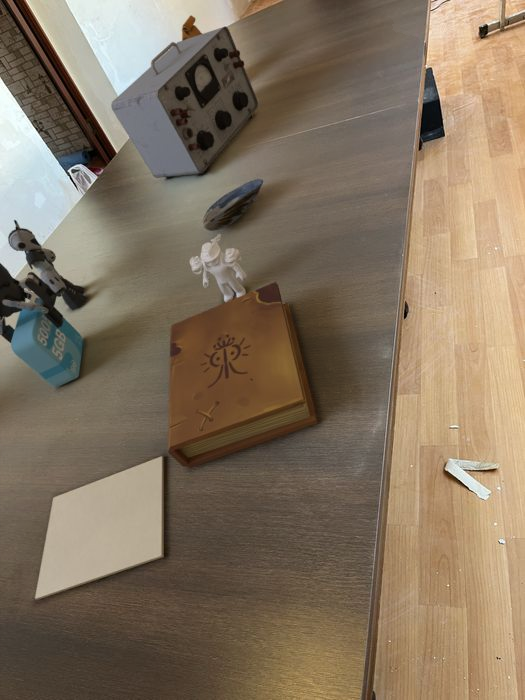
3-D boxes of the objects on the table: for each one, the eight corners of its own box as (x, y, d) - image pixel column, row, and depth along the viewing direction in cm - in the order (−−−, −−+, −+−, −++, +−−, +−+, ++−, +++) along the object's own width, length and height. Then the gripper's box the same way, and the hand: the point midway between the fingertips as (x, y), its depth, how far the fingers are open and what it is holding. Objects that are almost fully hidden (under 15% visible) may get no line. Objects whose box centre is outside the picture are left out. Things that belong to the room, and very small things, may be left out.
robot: (61, 286, 115) (-3, 217, 101) (79, 274, 115) (17, 204, 102) (74, 327, 100) (1, 253, 87) (94, 313, 101) (24, 237, 87)
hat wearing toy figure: (260, 282, 85) (230, 227, 77) (256, 298, 83) (225, 243, 74) (214, 292, 89) (181, 240, 80) (210, 307, 86) (175, 256, 78)
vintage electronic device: (209, 179, 120) (154, 77, 103) (158, 184, 131) (101, 92, 114) (267, 108, 135) (227, 8, 118) (217, 118, 145) (174, 27, 128)
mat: (37, 600, 61) (34, 599, 61) (55, 498, 71) (53, 497, 71) (163, 557, 58) (161, 555, 58) (164, 457, 68) (162, 455, 68)
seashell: (262, 230, 96) (252, 209, 92) (206, 245, 100) (194, 226, 97) (272, 187, 105) (263, 166, 102) (220, 202, 110) (210, 183, 107)
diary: (185, 349, 81) (167, 326, 78) (289, 307, 78) (276, 281, 74) (186, 469, 65) (163, 448, 61) (318, 423, 61) (302, 397, 58)
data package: (78, 381, 88) (31, 338, 80) (57, 391, 88) (8, 349, 80) (84, 337, 96) (41, 294, 88) (64, 346, 97) (21, 305, 89)
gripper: (10, 233, 77) (77, 304, 88) (-61, 270, 80) (12, 335, 91) (-1, 260, 72) (72, 332, 83) (-78, 299, 74) (3, 363, 85)
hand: (41, 333), depth 87 cm, fingers open, 8 cm apart
